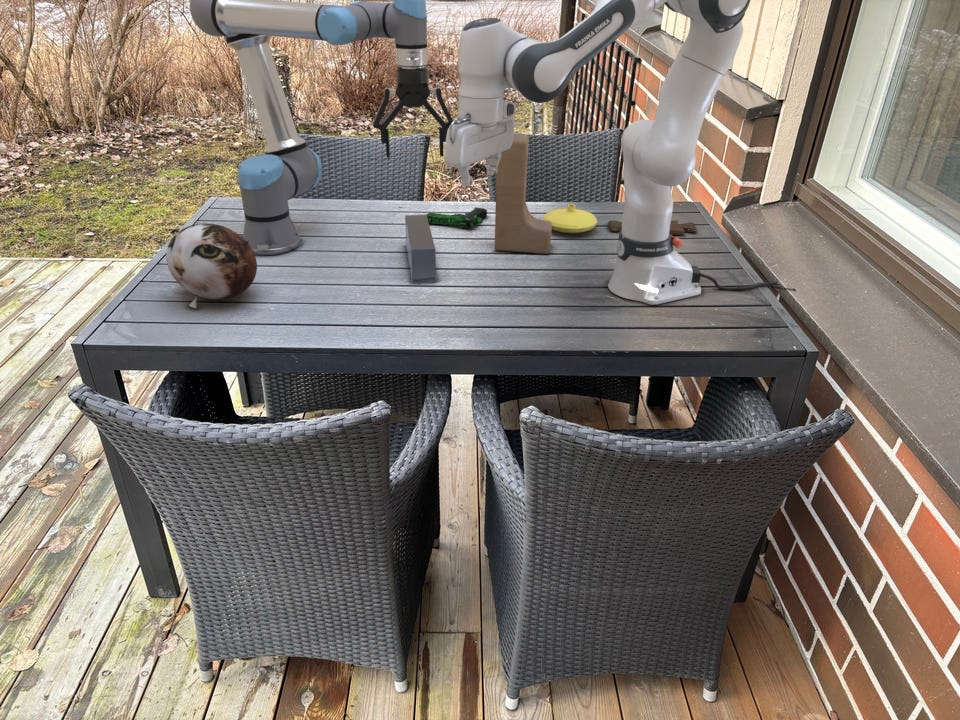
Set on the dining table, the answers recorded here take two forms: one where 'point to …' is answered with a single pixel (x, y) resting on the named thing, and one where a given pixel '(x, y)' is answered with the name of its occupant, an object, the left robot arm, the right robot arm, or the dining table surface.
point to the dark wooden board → (674, 229)
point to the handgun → (459, 218)
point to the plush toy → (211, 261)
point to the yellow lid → (571, 220)
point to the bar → (420, 249)
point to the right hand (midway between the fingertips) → (479, 179)
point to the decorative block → (517, 205)
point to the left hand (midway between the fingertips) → (414, 155)
